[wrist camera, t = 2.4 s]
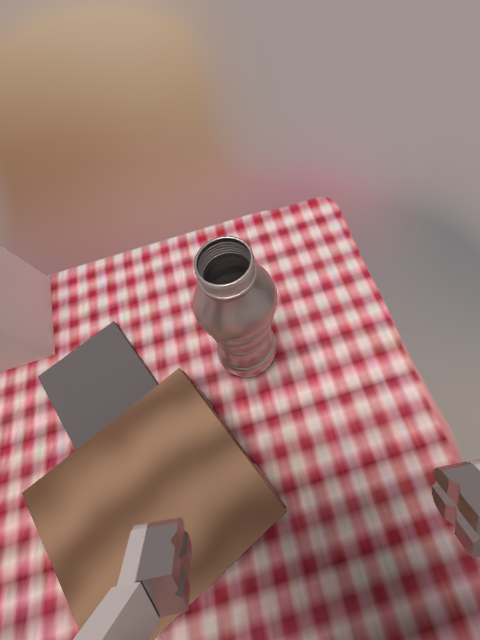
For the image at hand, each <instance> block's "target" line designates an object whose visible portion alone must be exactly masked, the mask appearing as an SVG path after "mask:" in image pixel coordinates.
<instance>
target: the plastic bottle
mask: <svg viewBox="0 0 480 640" xmlns="http://www.w3.org/2000/svg"><path fill="white" fill-rule="evenodd" d="M194 269H195V273H196V275H197V277H198V283H197V285H196V287H195V291H194V296H193V310H194V314H195V317H196V319H197V321H198V323H199V324H200V325H201V327H202V328H203V329H204V330H205V331H206V332H207V333H208V334H209V335H210V336H212V337H213V338H214V339H215V341H216V342H217V349H218V356H219V360H220V362H221V364H222V365H223V367H224V368H225V369H226V370H227V371H229V372H230V373H232V374H234V375H236V376H239V377H245V378H248V377H254V376H257V375H259V374H261V373H263V372H264V371H265V370H266V369H267V368H268V367H269V366H270V364H271V363H272V361H273V359H274V357H275V354H276V348H277V345H276V339H275V336H274V334H273V332H272V330H271V321H272V319H273V316H274V313H275V310H276V305H277V289H276V286H275V283H274V281H273V280H272V278H271V277H270V275H269V274H268V272H267V271H266V270H265V269H264V268H263V267H262V266H260V265H259V264H257V263H255V260H254V256H253V253H252V250H251V248H250V247H249V245H248V244H247V243H246V242H245V241H243V240H242V239H240V238H237V237H233V236H222V237H217V238H214V239H212V240H210V241H208V242H207V243H206V244H204V245H203V246H202V247H201V248H200V250H199V251H198V253H197V255H196V257H195V261H194Z"/></svg>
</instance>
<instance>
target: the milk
mask: <svg viewBox="0 0 480 640" xmlns="http://www.w3.org/2000/svg"><path fill="white" fill-rule="evenodd" d="M52 355H55V346H54V330H53V315H52V300H51V284H50V278H49V277H48V276H46V275H45V274H43V273H41V272H40V271H38V270H37V269H35V268H34V267H32V266H31V265H29V264H27V263H26V262H25V261H23V260H22V259H20V258H18V257H17V256H15V255H14V254H12V253H11V252H9V251H8V250H6V249H5V248H3V247H2V246H0V372H3V371H6V370H9V369H12V368H15V367H19V366H22V365H25V364H28V363H31V362H34V361H37V360H40V359H43V358H46V357H49V356H52Z"/></svg>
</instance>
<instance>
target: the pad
mask: <svg viewBox="0 0 480 640" xmlns="http://www.w3.org/2000/svg"><path fill="white" fill-rule="evenodd" d="M38 378H39V380H40V382H41V384H42V385H43V387H44V389H45V391H46V393H47V395H48V397H49V399H50V401H51V403H52V405H53V407H54V409H55V411H56V412H57V414H58V416H59V418H60V420H61V422H62V424H63V426H64V428H65V430H66V432H67V434H68V436H69V437H70V439H71V441H72V443H73V445H74V447H75V449H76V450H77V449H78V448H79V447H81V446H82V445H83V444H84V443H86V442H87V441H88V440H89V439H91V438H92V437H93V436H94V435H96V434H97V433H98V432H100V431H101V430H102V429H103V428H105V427H106V426H107V425H108V424H110V423H111V422H112V421H113V420H115V419H116V418H117V417H118V416H120V415H121V414H122V413H123V412H125V411H126V410H127V409H128V408H130V407H131V406H132V405H133V404H135V403H136V402H137V401H138V400H140V399H141V398H142V397H144V396H145V395H146V394H147V393H149V392H150V391H151V390H152V389H154V388H155V387H156V386H157V385H159V384H158V383H157V381H156V380H155V378H154V377H153V376H152V374H151V373H150V371H149V370H148V368H147V367H146V365H145V364H144V363H143V361H142V360H141V358H140V357H139V355H138V354H137V353H136V351H135V350H134V348H133V347H132V345H131V344H130V342H129V341H128V340H127V338H126V337H125V335H124V334H123V332H122V331H121V330H120V328H119V327H118V325H117V324H116V323H115V322H114V321H113V322H112V323H111V324H109V325H108V326H107V327H105V328H104V329H103V330H101V331H100V332H98V333H97V334H96V335H94V336H93V337H92V338H90V339H89V340H88V341H86V342H85V343H83V344H82V345H81V346H79V347H78V348H77V349H75V350H74V351H72V352H71V353H70V354H68V355H67V356H66V357H64V358H63V359H62V360H60V361H59V362H57V363H56V364H55V365H53V366H52V367H51V368H49V369H48V370H47V371H45V372H44V373H42V374H41V375H40V376H38Z"/></svg>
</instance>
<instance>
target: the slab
mask: <svg viewBox="0 0 480 640" xmlns="http://www.w3.org/2000/svg"><path fill="white" fill-rule="evenodd" d="M274 490H275V489H274V487H273V486H272V484H271V483H270V481H269V480H268V478H267V477H266V476H265V474H264V473H263V472H262V471H261V469H260V468H259V467H258V466H257V465H256V464H255V463H254V464H253V462H252V461H251V460H250V458H249V457H248V456H247V454H246V453H245V452H244V450H243V449H242V448H241V446H240V445H239V444H238V442H237V441H236V440H235V438H234V437H233V436H232V434H231V433H230V432H229V430H228V429H227V428H226V426H225V425H224V424H223V422H222V421H221V420H220V418H219V417H218V416H217V414H216V413H215V412H214V410H213V406H212V404H211V403H210V402H209V400H208V399H207V398H206V396H205V395H204V394H203V393H202V391H201V390H200V389H199V388H198V387H197V386H195V385H194V384H193V382H192V381H191V380H190V378H189V377H188V376H187V374H186V373H185V372H184V371H182V370H181V369H180V368H179V369H177V370H176V371H175V372H174V373H172V374H171V375H170V376H169V377H167V378H166V379H165V380H164V381H162V382H161V383H160V384H159V385H157V386H156V387H155V388H154V389H152V390H151V391H150V392H149V393H147V394H146V395H145V396H144V397H142V398H141V399H140V400H138V401H137V402H136V403H135V404H133V405H132V406H131V407H130V408H128V409H127V410H126V411H125V412H123V413H122V414H121V415H120V416H118V417H117V418H116V419H115V420H113V421H112V422H111V423H110V424H108V425H107V426H106V427H105V428H103V429H102V430H101V431H100V432H98V433H97V434H96V435H94V436H93V437H92V438H91V439H89V440H88V441H87V442H86V443H84V444H83V445H82V446H81V447H79V448H78V449H77V450H76V451H74V452H73V453H72V454H71V455H69V456H68V457H67V458H66V459H64V460H63V461H62V462H61V463H59V464H58V465H57V466H55V467H54V468H53V469H52V470H50V471H49V472H48V473H47V474H45V475H44V476H43V477H42V478H40V479H39V480H38V481H37V482H35V483H34V484H33V485H32V486H30V487H29V488H28V489H27V490H25V491H24V492H23V493H22V495H23V497H24V499H25V502H26V504H27V506H28V509H29V511H30V514H31V516H32V518H33V521H34V523H35V525H36V528H37V530H38V533H39V535H40V537H41V540H42V542H43V545H44V547H45V549H46V552H47V554H48V556H49V559H50V561H51V564H52V566H53V568H54V571H55V573H56V575H57V578H58V580H59V583H60V585H61V587H62V590H63V592H64V594H65V597H66V599H67V602H68V604H69V606H70V609H71V611H72V614H73V616H74V618H75V621H76V623H77V625H78V628H79V630H80V629H81V628H82V627H83V625H84V624H85V623H86V621H87V620H88V619H89V617H90V616H91V615H92V613H93V612H94V610H95V609H96V608H97V606H98V605H99V604H100V602H101V601H102V600H103V598H104V597H105V596H106V594H107V593H108V591H109V590H110V589H111V587H114V586H117V583H118V579H119V575H120V571H121V567H122V563H123V559H124V555H125V552H126V548H127V544H128V540H129V536H130V532H131V530H132V528H133V526H134V525H138V524H144V523H149V522H156V521H161V520H167V519H173V518H179V517H182V519H183V521H184V523H185V526H184V531H186V532H188V533H189V536H190V540H191V545H192V567H191V569H190V570H189V572H188V574H187V577H188V580H189V582H190V595H189V605H190V604H191V603H192V602H193V601H194V600H195V599H196V598H197V597H198V596H199V595H200V594H201V593H203V592H204V591H205V590H206V589H207V588H208V587H209V586H210V585H211V584H212V583H213V582H214V581H215V580H216V579H217V578H218V577H219V576H220V575H221V574H222V573H223V572H224V571H225V570H226V569H227V568H229V567H230V566H231V565H232V564H233V563H234V562H235V561H236V560H237V559H238V558H239V557H240V556H241V555H242V554H243V553H244V552H245V551H246V550H247V549H248V548H249V547H250V546H251V545H252V544H253V543H255V542H256V541H257V540H258V539H259V538H260V537H261V536H262V535H263V534H264V533H265V532H266V531H267V530H268V529H269V528H270V527H271V526H272V525H273V524H274V523H275V522H276V521H277V520H278V519H280V518H281V517H282V516H283V515H284V514H285V513H286V512H287V511H286V506H285V505H284V504H283V502H282V501H281V500H280V498H279V497H278V496H277V494H276V493H275V492H274ZM180 614H181V613H178V614H173V615H169V616H164V617H160V621H159V623H158V625H157V627H156V629H155V631H154V633H153V635H152V637H151V639H150V640H154V639H155V638H156V637H157V636H158V635H159V634H160V633H161V632H162V631H163V630H164V629H165V628H166V627H167V626H168V625H169V624H170V623H171V622H172V621H173V620H174V619H175V618H176V617H178V616H179V615H180Z"/></svg>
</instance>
